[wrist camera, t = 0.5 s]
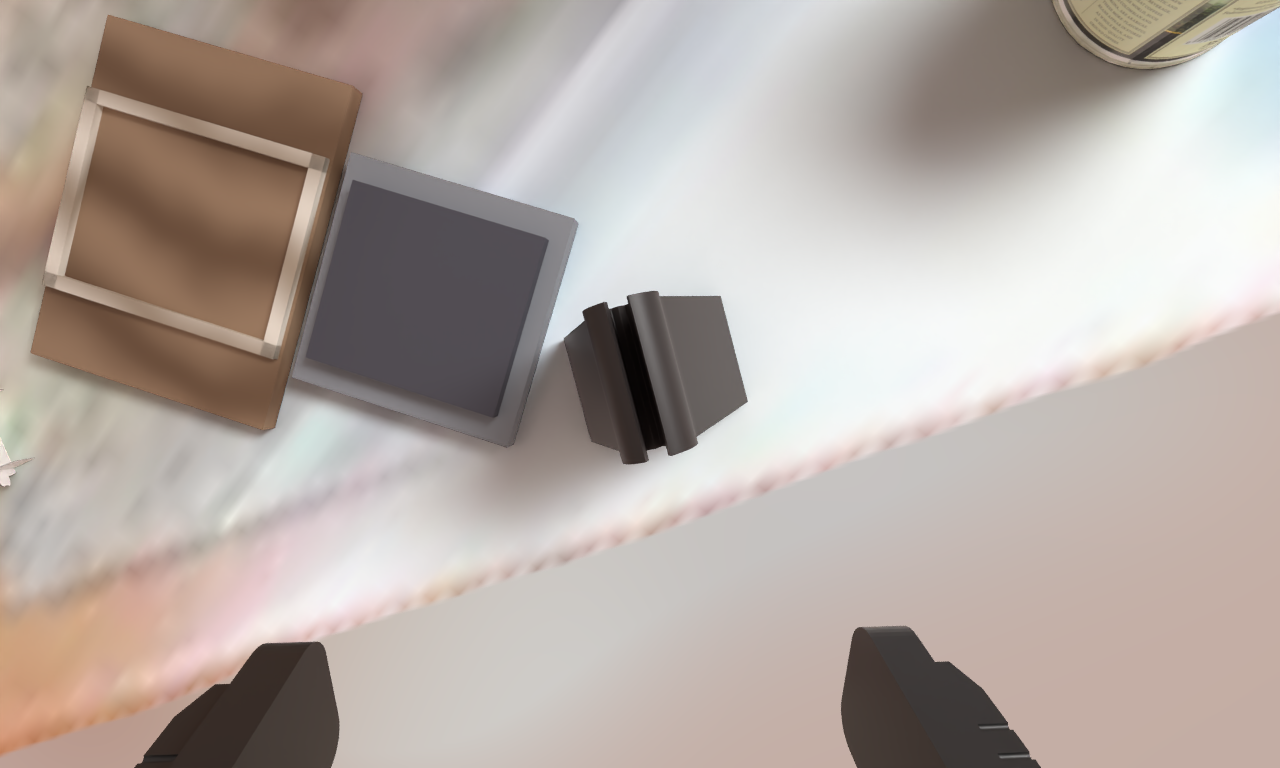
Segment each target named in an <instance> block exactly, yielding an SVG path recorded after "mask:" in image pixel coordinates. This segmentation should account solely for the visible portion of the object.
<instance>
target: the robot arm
mask: <svg viewBox="0 0 1280 768" xmlns="http://www.w3.org/2000/svg"><path fill="white" fill-rule="evenodd" d="M841 715H842V724H843V729H844V734H845V738H846V741H847V744H848V747H849V749H850V752H851V754H852V756H853V759H854V761H855V764H856V766H857V768H1041V767H1040V766H1039V764H1038V763H1037V761H1036V760H1032V759H1031V758H1030V755H1029V751H1028V749H1027V748H1026V747H1025V745H1024V744H1023V743H1022V741H1021V740H1020V738H1019V737H1018V736H1017V734H1016V733H1015V732H1014V730H1010V729H1009V727H1008V722H1007V721H1006V720H1005V718H1004V717H1003V716H1002V714H1001V713H1000V711H999V710H998V709H997V707H996V706H995V705H994V704H993V702H992V701H991V700H990V698H989V697H988V695H987V694H986V693H985V691H984V690H983V689H982V688H981V687H980V686H978V685H977V684H976V683H975V682H973V681H972V680H971V679H970V678H969V677H967V676H966V675H965V674H963V673H962V672H961V671H960V670H959V669H957V668H956V667H955V666H954V665H952V664H951V663H950V662H934V660H933V659H932V657H931V656H930V654H929V653H928V651H927V650H926V648H925V647H924V646H923V644H922V643H921V641H920V640H919V638H918V637H917V636H916V634H915V633H914V631H913V630H911V629H910V628H909V627H907V626H886V627H859V628H857V629H856V630H855V631H854V634H853V637H852V642H851V648H850V654H849V659H848V666H847V672H846V677H845V683H844V689H843V695H842V702H841ZM338 739H339V716H338V711H337V706H336V701H335V696H334V691H333V686H332V681H331V676H330V671H329V666H328V661H327V656H326V652H325V648H324V646H323V645H322V644H321V643H320V642H293V643H266V644H262V645H261V646H259V647H258V648H257V649H256V650H255V651H254V652H253V653H252V655H251V656H250V657H249V659H248V660H247V661H246V663H245V664H244V665H243V667H242V668H241V670H240V671H239V672H238V674H237V675H236V676H235V678H234V679H233V681H232V682H231V684H215V685H214V686H213V687H211V688H210V689H209V690H208V691H206V692H205V693H204V694H203V695H201V696H200V697H199V698H198V699H196V700H195V701H194V702H192V703H191V704H190V705H189V706H187V707H186V708H185V709H184V710H182V711H181V712H180V713H179V714H177V715H176V716H175V717H174V718H173V719H172V721H171V722H170V723H169V724H168V726H167V727H166V728H165V730H164V731H163V732H162V733H161V734H160V736H159V737H158V738H157V740H156V741H155V742H154V743H153V745H152V746H151V747H150V748H149V750H148V751H147V752H146V754H145V755H144V759H143V762H142V763H141V764H137V765H136V767H134V768H331V766H332V763H333V760H334V757H335V754H336V750H337V745H338Z"/></svg>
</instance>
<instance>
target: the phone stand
mask: <svg viewBox="0 0 1280 768" xmlns="http://www.w3.org/2000/svg"><path fill="white" fill-rule="evenodd" d="M627 300H628V304H627V305H624V306H618V307H615V308H612V309H609V308H608V305H607V302H603V303H600V304H597V305H594V306H592V307H589V308H587V309H585V310H584V311H583V316H584V320H585V321H584V322H583V323H581V324H580V325H579V326H578V327H577V328H576V329H574V330H573V331H572V332H571V333H570V334H569V335H567V336H566V337H565V338H564V341H565V345H566V349H567V353H568V356H569V360H570V364H571V368H572V371H573V375H574V379H575V382H576V386H577V390H578V394H579V397H580V401H581V405H582V409H583V412H584V416H585V420H586V424H587V427H588V431H589V435H590V439H591V441H592V442H595V443H598V444H600V445H603V446H606V447H609V448H612V449H615V450H618V451H620V455H621V459H622V463H623V464H638V463H644V462H647V461H648V460H649V459H648V456H647V452H646V451H647V450H651V449H656V448H659V447H661V446H666V448H667V451H668V455H669V456H672V455H675V454H678V453H681V452H684V451H686V450H689V449H691V448H693V447H694V446H696V445H697V444H698V441H697V438H696V437H697V436H698V435H700V434H701V433H703V432H704V431H706V430H707V429H708V428H710V427H711V426H713V425H714V424H716V423H717V422H719V421H720V420H722V419H723V418H725V417H726V416H727V415H729V414H730V413H732V412H733V411H735V410H736V409H738V408H739V407H741V406H742V405H744V404H745V403H746V402H748V401H747V397H746V393H745V389H744V385H743V381H742V377H741V374H740V370H739V366H738V362H737V358H736V354H735V350H734V346H733V343H732V339H731V335H730V331H729V327H728V323H727V319H726V316H725V312H724V308H723V304H722V300H721V296H659V292H658V291H650V292H643V293H638V294H633V295H628V296H627Z"/></svg>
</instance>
